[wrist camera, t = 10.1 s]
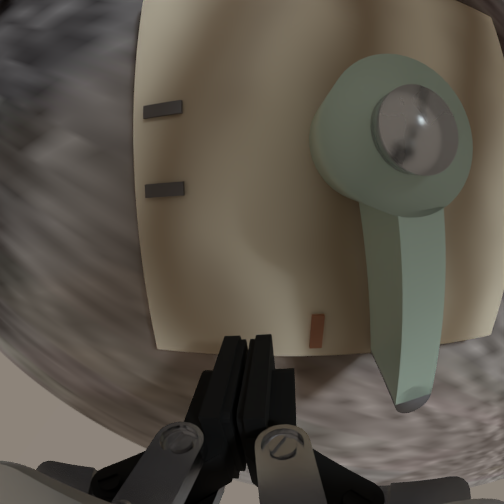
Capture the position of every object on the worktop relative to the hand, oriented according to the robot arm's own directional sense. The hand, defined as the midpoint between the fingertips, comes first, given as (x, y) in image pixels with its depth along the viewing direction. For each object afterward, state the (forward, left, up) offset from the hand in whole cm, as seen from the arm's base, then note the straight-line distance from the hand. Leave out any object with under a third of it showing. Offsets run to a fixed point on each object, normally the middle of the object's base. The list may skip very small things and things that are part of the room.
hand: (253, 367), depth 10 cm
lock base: (-5, -8, -5) cm, 10 cm away
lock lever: (-5, -4, -3) cm, 7 cm away
